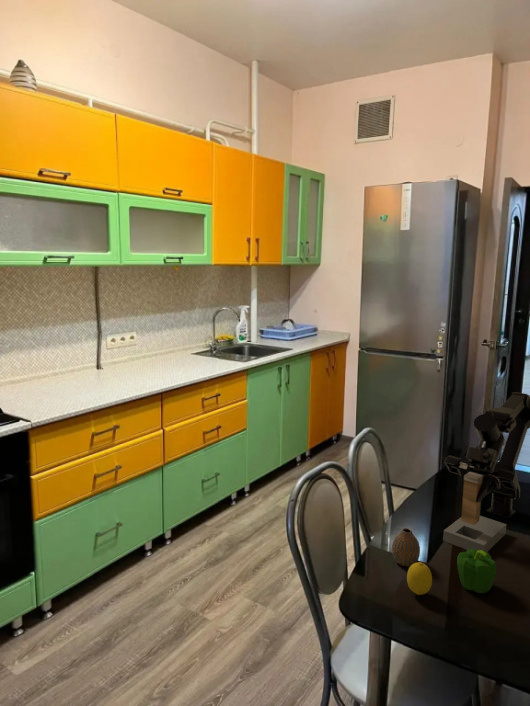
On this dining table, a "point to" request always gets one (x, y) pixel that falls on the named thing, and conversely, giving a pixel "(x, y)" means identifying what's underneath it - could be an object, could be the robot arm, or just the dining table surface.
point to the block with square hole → (475, 534)
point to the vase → (406, 548)
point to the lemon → (419, 578)
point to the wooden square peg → (471, 498)
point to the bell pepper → (476, 570)
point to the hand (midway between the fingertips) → (469, 499)
